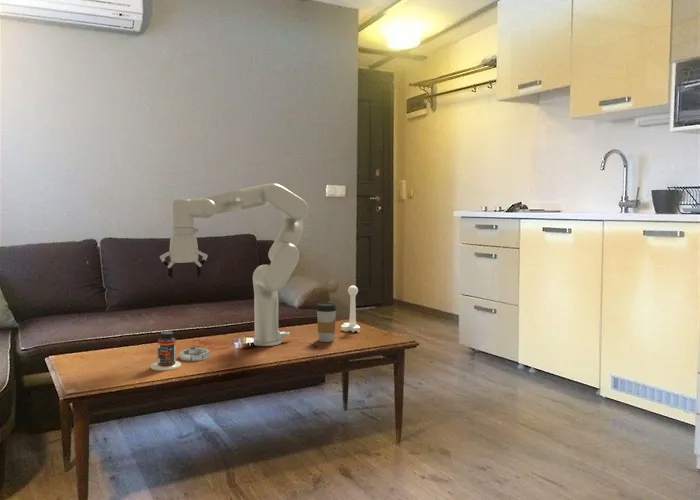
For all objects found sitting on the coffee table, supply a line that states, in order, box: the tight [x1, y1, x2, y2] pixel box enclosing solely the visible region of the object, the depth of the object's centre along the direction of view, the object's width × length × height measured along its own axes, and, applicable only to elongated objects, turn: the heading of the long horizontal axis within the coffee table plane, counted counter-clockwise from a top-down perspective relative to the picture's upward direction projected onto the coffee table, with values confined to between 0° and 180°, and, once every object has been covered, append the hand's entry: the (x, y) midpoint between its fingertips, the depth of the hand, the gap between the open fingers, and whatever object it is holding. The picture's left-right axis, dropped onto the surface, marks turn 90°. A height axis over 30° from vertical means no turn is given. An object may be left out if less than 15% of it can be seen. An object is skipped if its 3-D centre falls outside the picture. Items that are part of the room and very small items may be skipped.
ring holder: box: [179, 346, 211, 362], centre depth 214 cm, size 10×10×3 cm
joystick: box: [340, 285, 361, 333], centre depth 258 cm, size 11×8×20 cm
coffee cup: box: [316, 302, 337, 343], centre depth 240 cm, size 8×8×15 cm
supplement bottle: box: [157, 330, 177, 366], centre depth 201 cm, size 6×6×11 cm
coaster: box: [150, 360, 182, 372], centre depth 202 cm, size 10×10×1 cm
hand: (184, 277), depth 219 cm, fingers open, 9 cm apart
